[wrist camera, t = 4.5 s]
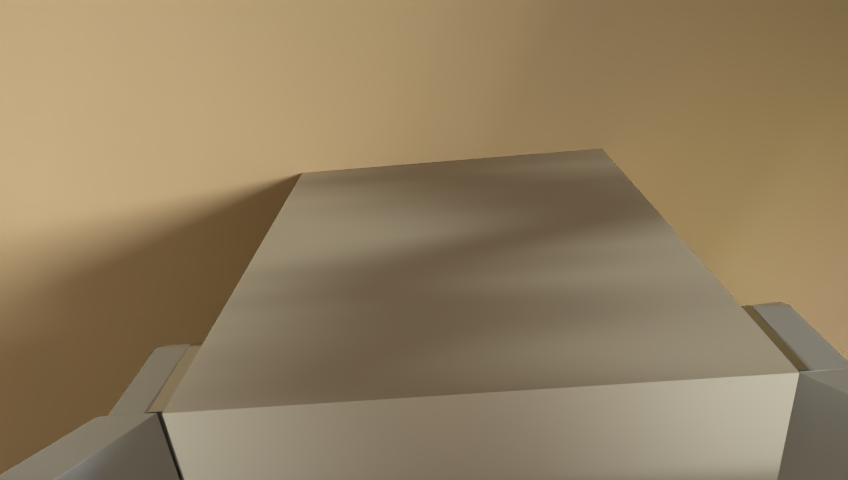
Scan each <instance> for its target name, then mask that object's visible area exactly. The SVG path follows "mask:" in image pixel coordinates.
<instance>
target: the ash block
mask: <svg viewBox="0 0 848 480" xmlns="http://www.w3.org/2000/svg"><path fill="white" fill-rule="evenodd" d="M799 373H800V372H799V371H798V370H797V369H796V368H795V367H794V366H793V364H792V363H791V362H790V361H789V360H788V359H787V358H786V357H785V355H784V354H783V353H782V352H781V351H780V350H779V349H778V347H777V346H776V345H775V344H774V343H773V342H772V341H771V340H770V338H769V337H768V336H767V335H766V334H765V333H764V332H763V330H762V329H761V328H760V327H759V326H758V325H757V324H756V323H755V321H754V320H753V319H752V318H751V317H750V316H749V315H748V313H747V312H746V311H745V310H744V309H743V308H742V307H741V306H740V304H739V303H738V302H737V301H736V300H735V299H734V298H733V296H732V295H731V294H730V293H729V292H728V291H727V290H726V289H725V287H724V286H723V285H722V284H721V283H720V282H719V281H718V279H717V278H716V277H715V276H714V275H713V274H712V273H711V272H710V270H709V269H708V268H707V267H706V266H705V265H704V264H703V262H702V261H701V260H700V259H699V258H698V257H697V256H696V255H695V253H694V252H693V251H692V250H691V249H690V248H689V247H688V245H687V244H686V243H685V242H684V241H683V240H682V239H681V238H680V236H679V235H678V234H677V233H676V232H675V231H674V230H673V228H672V227H671V226H670V225H669V224H668V223H667V222H666V221H665V219H664V218H663V217H662V216H661V215H660V214H659V213H658V211H657V210H656V209H655V208H654V207H653V206H652V205H651V204H650V202H649V201H648V200H647V199H646V198H645V197H644V196H643V194H642V193H641V192H640V191H639V190H638V189H637V188H636V187H635V185H634V184H633V183H632V182H631V181H630V180H629V179H628V177H627V176H626V175H625V174H624V173H623V172H622V171H621V170H620V168H619V167H618V166H617V165H616V164H615V163H614V162H613V160H612V159H611V158H610V157H609V156H608V155H607V154H606V153H605V151H604V150H603V149H592V150H580V151H567V152H555V153H543V154H530V155H518V156H506V157H494V158H481V159H469V160H457V161H444V162H432V163H420V164H407V165H395V166H383V167H370V168H358V169H346V170H334V171H321V172H309V173H302V174H301V176H300V178H299V179H298V181H297V183H296V184H295V186H294V188H293V190H292V191H291V193H290V195H289V196H288V198H287V200H286V202H285V203H284V205H283V207H282V209H281V210H280V212H279V214H278V215H277V217H276V219H275V221H274V222H273V224H272V226H271V227H270V229H269V231H268V233H267V234H266V236H265V238H264V239H263V241H262V243H261V245H260V246H259V248H258V250H257V251H256V253H255V255H254V257H253V258H252V260H251V262H250V263H249V265H248V267H247V269H246V270H245V272H244V274H243V275H242V277H241V279H240V281H239V282H238V284H237V286H236V288H235V289H234V291H233V293H232V294H231V296H230V298H229V300H228V301H227V303H226V305H225V306H224V308H223V310H222V312H221V313H220V315H219V317H218V318H217V320H216V322H215V324H214V325H213V327H212V329H211V330H210V332H209V334H208V336H207V337H206V339H205V341H204V342H203V344H202V346H201V348H200V349H199V351H198V353H197V354H196V356H195V358H194V360H193V361H192V363H191V365H190V366H189V368H188V370H187V372H186V373H185V375H184V377H183V379H182V380H181V382H180V384H179V385H178V387H177V389H176V391H175V392H174V394H173V396H172V397H171V399H170V401H169V403H168V404H167V406H166V408H165V409H164V411H163V413H162V415H163V418H164V421H165V424H166V427H167V430H168V433H169V435H170V438H171V441H172V444H173V447H174V450H175V453H176V456H177V459H178V462H179V465H180V468H181V471H182V474H183V477H184V480H777V479H778V474H779V469H780V464H781V459H782V455H783V450H784V445H785V440H786V436H787V431H788V426H789V421H790V416H791V412H792V407H793V402H794V397H795V392H796V388H797V383H798V378H799Z"/></svg>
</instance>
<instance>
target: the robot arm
mask: <svg viewBox="0 0 848 480" xmlns="http://www.w3.org/2000/svg"><path fill="white" fill-rule="evenodd" d="M741 307H742V308H743V309H744V310H745V311H746V312H747V313H748V315H749V316H750V317H751V318H752V319H753V320H754V321H755V323H756V324H757V325H758V326H759V327H760V328H761V329H762V330H763V332H764V333H765V334H766V335H767V336H768V337H769V338H770V340H771V341H772V342H773V343H774V344H775V345H776V346H777V347H778V349H779V350H780V351H781V352H782V353H783V354H784V355H785V357H786V358H787V359H788V360H789V361H790V362H791V363H792V364H793V366H794V367H795V368H796V369H797V370H798V371H799V372H800V373H799V378H798V383H797V388H796V392H795V397H794V402H793V407H792V412H791V416H790V421H789V426H788V431H787V436H786V440H785V445H784V450H783V455H782V459H781V464H780V469H779V474H778V479H777V480H848V361H847V360H846V359H845V358H844V357H843V356H842V355H841V354H840V353H839V352H837V351H836V350H835V349H834V348H833V347H832V346H831V345H830V344H829V343H828V342H827V341H826V340H825V339H824V338H823V337H822V336H821V335H820V334H819V333H818V332H817V331H816V330H815V329H814V328H813V327H812V326H811V325H810V324H808V323H807V322H806V321H805V320H804V319H803V318H802V317H801V316H800V315H799V314H798V313H797V312H796V311H795V310H794V309H793V308H792V307H791V306H790V305H788V304H785V303H782V302H775V303H766V304H756V305H746V306H741ZM202 344H203V343H195V344H192V343H187V344H175V345H163V346H160V347H157V348H155V350H154V351H153V352H152V354H151V355H150V356H149V358H148V359H147V361H146V362H145V364H144V365H143V366H142V368H141V369H140V371H139V372H138V373H137V375H136V376H135V378H134V379H133V380H132V382H131V383H130V385H129V386H128V388H127V389H126V390H125V392H124V393H123V395H122V396H121V397H120V399H119V400H118V402H117V403H116V404H115V406H114V407H113V409H112V410H111V412H110V413H109V414H108V416H99V417H95V418H94V419H92V420H90V421H89V422H87V423H85V424H84V425H82V426H80V427H79V428H77V429H75V430H74V431H72V432H70V433H69V434H67V435H65V436H64V437H62V438H60V439H59V440H57V441H55V442H54V443H52V444H50V445H49V446H47V447H45V448H44V449H42V450H40V451H39V452H37V453H35V454H34V455H32V456H30V457H29V458H27V459H25V460H24V461H22V462H20V463H19V464H17V465H15V466H14V467H12V468H10V469H9V470H7V471H5V472H4V473H2V474H0V480H184V477H183V474H182V471H181V468H180V465H179V462H178V459H177V456H176V453H175V450H174V447H173V444H172V441H171V438H170V435H169V433H168V430H167V427H166V424H165V421H164V418H163V415H162V413H163V411H164V409H165V408H166V406H167V404H168V403H169V401H170V399H171V397H172V396H173V394H174V392H175V391H176V389H177V387H178V385H179V384H180V382H181V380H182V379H183V377H184V375H185V373H186V372H187V370H188V368H189V366H190V365H191V363H192V361H193V360H194V358H195V356H196V354H197V353H198V351H199V349H200V348H201V346H202Z"/></svg>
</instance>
